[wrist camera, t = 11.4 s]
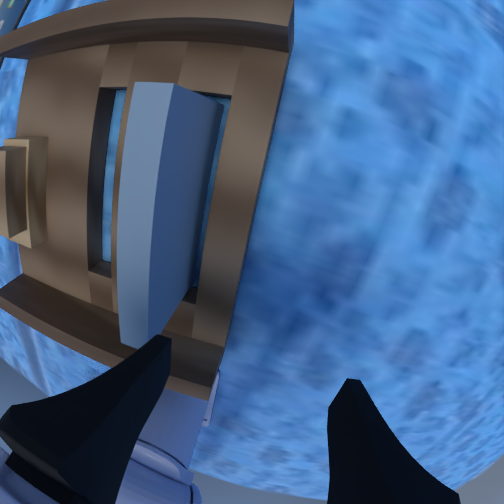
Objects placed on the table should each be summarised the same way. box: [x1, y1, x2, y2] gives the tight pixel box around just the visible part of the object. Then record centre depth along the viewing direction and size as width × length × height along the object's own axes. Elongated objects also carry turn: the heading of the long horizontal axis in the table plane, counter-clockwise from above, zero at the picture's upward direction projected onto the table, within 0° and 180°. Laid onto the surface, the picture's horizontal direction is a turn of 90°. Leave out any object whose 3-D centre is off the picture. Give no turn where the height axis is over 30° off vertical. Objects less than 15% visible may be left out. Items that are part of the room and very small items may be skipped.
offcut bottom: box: [4, 136, 48, 249], centre depth 16 cm, size 8×4×2 cm, turn 168°
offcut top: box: [0, 146, 27, 238], centre depth 14 cm, size 6×3×2 cm, turn 168°
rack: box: [0, 0, 294, 401], centre depth 16 cm, size 22×20×6 cm
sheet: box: [117, 82, 224, 349], centre depth 14 cm, size 12×2×8 cm, turn 168°
